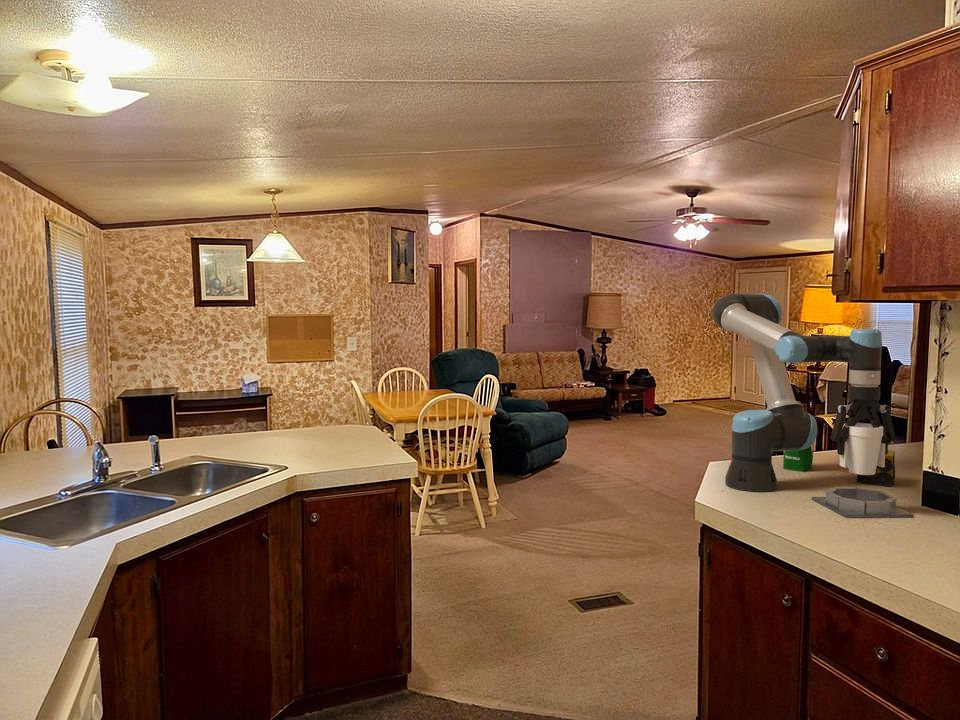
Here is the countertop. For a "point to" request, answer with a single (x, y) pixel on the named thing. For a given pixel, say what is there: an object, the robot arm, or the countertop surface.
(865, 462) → the foam cup
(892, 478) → the yellow black cube
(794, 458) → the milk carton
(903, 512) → the ring seat
